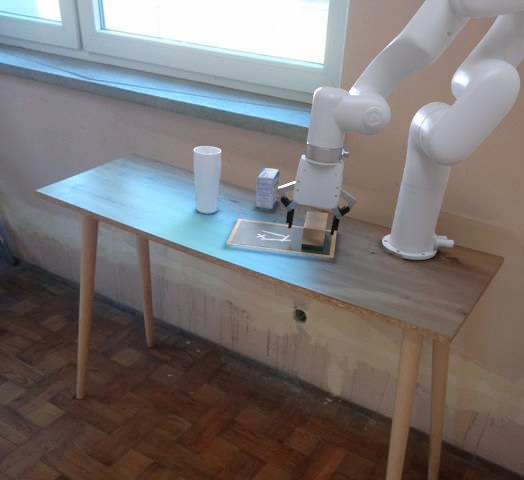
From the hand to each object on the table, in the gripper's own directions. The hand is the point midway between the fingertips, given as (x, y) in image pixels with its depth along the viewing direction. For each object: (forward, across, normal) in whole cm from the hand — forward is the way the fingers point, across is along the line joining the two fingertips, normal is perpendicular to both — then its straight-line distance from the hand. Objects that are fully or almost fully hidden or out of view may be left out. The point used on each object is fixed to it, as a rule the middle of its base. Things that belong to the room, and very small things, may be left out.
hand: (311, 229), depth 126 cm
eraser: (+3, -1, 0) cm, 3 cm away
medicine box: (+4, +13, -21) cm, 25 cm away
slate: (+4, +6, 0) cm, 7 cm away
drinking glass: (+5, +27, -13) cm, 30 cm away
